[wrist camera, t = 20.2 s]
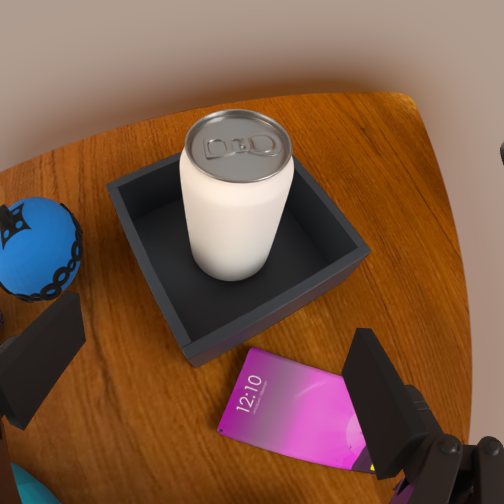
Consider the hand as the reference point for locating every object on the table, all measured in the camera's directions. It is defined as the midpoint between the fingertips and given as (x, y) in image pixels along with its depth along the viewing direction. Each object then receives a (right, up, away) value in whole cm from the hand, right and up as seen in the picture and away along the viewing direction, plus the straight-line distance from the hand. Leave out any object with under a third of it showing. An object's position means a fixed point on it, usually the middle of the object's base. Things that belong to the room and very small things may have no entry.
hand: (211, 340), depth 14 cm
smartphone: (+7, -9, +8) cm, 14 cm away
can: (0, +4, +13) cm, 14 cm away
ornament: (-16, +2, +11) cm, 20 cm away
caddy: (0, +4, +13) cm, 14 cm away
